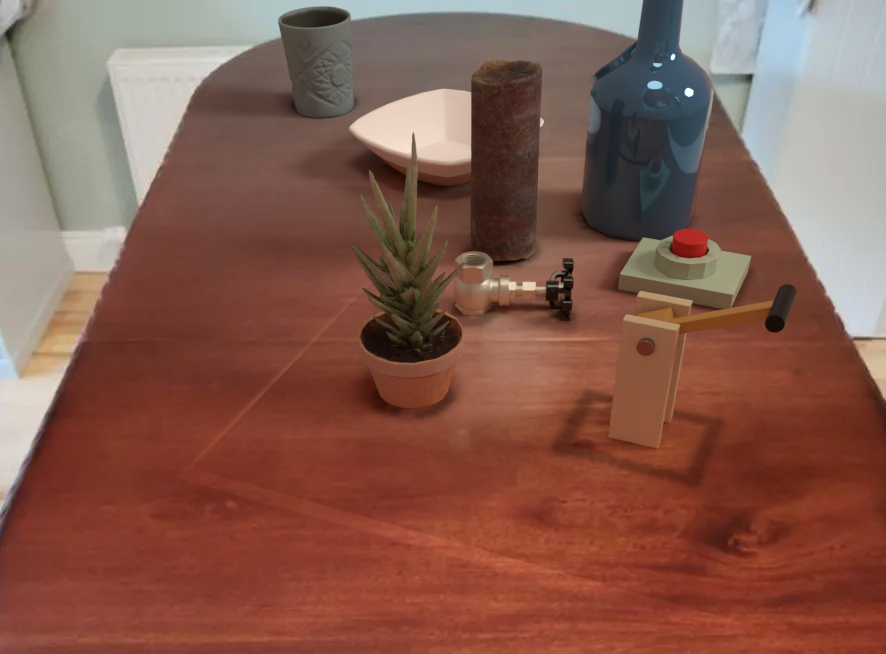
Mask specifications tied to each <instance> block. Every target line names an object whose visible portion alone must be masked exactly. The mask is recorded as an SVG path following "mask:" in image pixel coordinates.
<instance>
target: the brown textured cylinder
mask: <svg viewBox="0 0 886 654" xmlns="http://www.w3.org/2000/svg"><path fill="white" fill-rule="evenodd" d="M542 81H543V67H542V64H541V63H539V62H537V61H530V60H523V59H522V60H512V61H509V60H507V59H495V60H489V61H485V62H484V63H483V64H482V65H481V66H479V68H478V69H476V70H475V71H474V72H473V73H472V74H471V79H470V92H471V181H470V249H471V252H473V251H475V252H482V253H485V254H487V255H488V256H489V257H490V258H491V259H492V260H493V262H496V261H497V262H500V261H503V262H505V261H518V260H523V259H524V260H527V259H529V258H530V257H531V256H533V254H535V253H536V242H537V241H536V238H537V223H538V222H537V220H538V219H537V218H538V190H539V189H538V185H539V160H540V159H539V157H540V156H539V155H540V135H541V134H540V133H541V128H540V118H541V106H542V90H543V89H542V87H543V86H542V85H543V84H542V83H543V82H542Z"/></svg>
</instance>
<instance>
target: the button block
mask: <svg viewBox="0 0 886 654" xmlns="http://www.w3.org/2000/svg"><path fill="white" fill-rule="evenodd" d="M672 241H673V235H672V236H670V237H668V238H665V239H657V240H656V239H650V238H644V237H643V238H642V240H641V241H639V243H638V244H637V246H636V247H635V249H634V250H633V252H632V254H631V255H630V257H629V258H628V260H627V262H626V263H625V265H624V267H623V268H622V270H621V271H620V273H619V275H618V276H619V277H618V283H617V284H618V285H617V290H619V291H624V292H630V293H635V294H638V293H639V292H640V291H644V292H650V293H655V294H660V295H666V296H671V297H676V298H682V299H687V300H692V301H693V302H692V304H694V305H700V306H705V307H710V308H715V309H719V310H723V309H728V308H733V305H734V303H735V301H736V298H737V296H738V294H739V292H740V289H741V287H742V285H743V284H744V281H745V280H746V277H747V275H748V273H749V269H750V265H751V260H752V256H751V255H749V254H744V253H737V252H732V251H725V250H722V249H721V248H720V246H719V245H718V243H717V242H715V241H713V240H711V239H710V238H708V243H707V249H706V254H705V256H703V257H700V258H683V257H678V256H676V255H674V254H673V253H671V247H672Z"/></svg>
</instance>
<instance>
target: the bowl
mask: <svg viewBox="0 0 886 654" xmlns="http://www.w3.org/2000/svg"><path fill="white" fill-rule="evenodd" d="M544 124H545V120H544V119H543V118H542V117H540V129H541V128H542V127H543V126H544ZM348 131H349V132H350V134H352V136H354V137H355V138H356V139H357V140H358V141H360V143H362V144H363V145H364V146H365V147H367V148H368V149H369V150H370V151H371V152H373V153H374V154H375V155H377V156H378V157H379V158H380V159H381V160H383V161H384V162H385V163H386V164H388V166H390V167H391V168H392V169H394V170H396V171H398V172H399V173H400V174H403V175H405V176H406V174H407V168H408V166H409V167H410V170H411V155H412V134H413V132H414V135H415V142H416V153H417V171H418V174H417V181H421V182H423V183H424V182H425V183H428V184H432V185H437V186H443V187H453V186H458V185H463V184H464V183H468V182H471V91H467V90H460V89H451V88H439V89H434V90H428V91H423V92H419V93H415V94H413V95H409V96H407V97H404V98H400V99H398V100H394V101H392V102H388V103H387V104H384V105H382V106H380V107H378V108H376V109H373V110H372V111H370V112H367V113H365V114H364V115H362V116H361V117H359V118H358V119H356V120H355V121H354V122H353V123H352V124H350V126H349V127H348Z"/></svg>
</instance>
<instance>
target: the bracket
mask: <svg viewBox="0 0 886 654" xmlns="http://www.w3.org/2000/svg"><path fill="white" fill-rule="evenodd" d="M635 298H636V299H635V306H634V312H633V313H634V314H628V313H626V314H625V315H624V317H623V318H622V321H621V329H620V338H619V345H618V346H619V347H618V354H617V361H616V362H617V363H616V370H615V376H614V377H615V378H614V387H613V395H612V402H611V410H610V419H609V428H608V438H611V439H615V440H620V441H624V442H628V443H631V444H637V445H640V446H645V447H649V448H653V449H658V448H659V447H660V444H661V441H662V435H663V429H664V423H667V424H670V423H671V422H672V419H673V416H674V410H675V404H676V400H677V399H676V397H677V391H678V388H679V382H680V376H681V369H682V365H683V359H684V353H685V348H686V341H687V335H688V333H684V334H679V329H680V325H679V324H674V323H669V322H664V321H659V320H654V319H649V318H644V317H639V316H638V314H639V313H644V312H649V311H655V310H660V309H666V308H671V309H672V312H673V316H674V318H678V317H684V316H689V315H691V312H692V308H693V307H692V306H693V303H692V302H693V301H692V300H687V299H682V298H676V297H671V296H666V295H660V294H655V293H650V292H644V291H640V292H639V293H637V295H636V296H635Z"/></svg>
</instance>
